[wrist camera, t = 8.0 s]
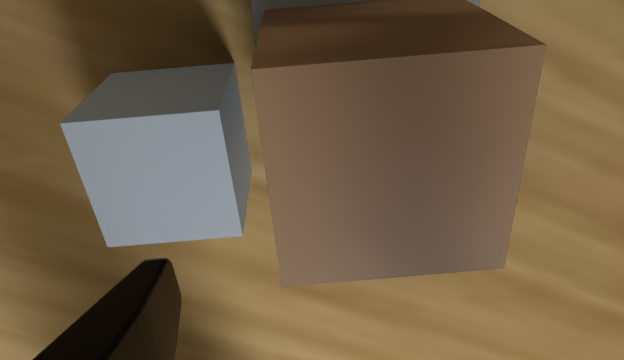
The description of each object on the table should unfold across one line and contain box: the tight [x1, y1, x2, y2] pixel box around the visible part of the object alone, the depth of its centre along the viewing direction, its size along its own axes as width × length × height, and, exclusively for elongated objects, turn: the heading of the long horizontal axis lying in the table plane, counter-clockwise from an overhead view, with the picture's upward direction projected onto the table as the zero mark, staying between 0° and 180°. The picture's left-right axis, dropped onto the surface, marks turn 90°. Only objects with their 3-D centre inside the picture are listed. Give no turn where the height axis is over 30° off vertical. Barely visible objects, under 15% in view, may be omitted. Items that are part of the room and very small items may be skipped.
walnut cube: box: [251, 0, 546, 287], centre depth 11 cm, size 5×5×5 cm
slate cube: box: [60, 63, 252, 247], centre depth 18 cm, size 5×5×5 cm
